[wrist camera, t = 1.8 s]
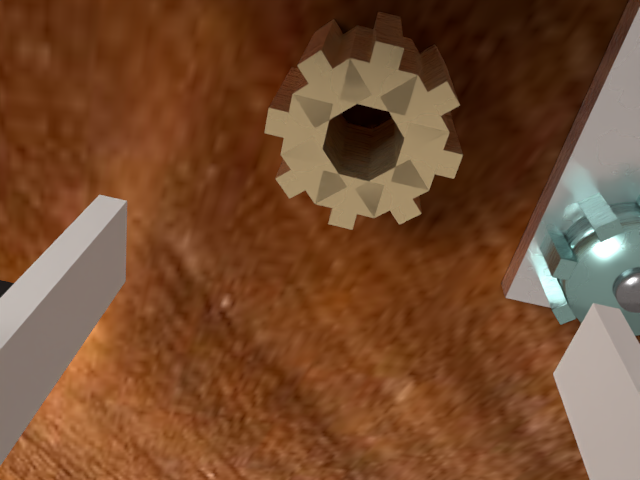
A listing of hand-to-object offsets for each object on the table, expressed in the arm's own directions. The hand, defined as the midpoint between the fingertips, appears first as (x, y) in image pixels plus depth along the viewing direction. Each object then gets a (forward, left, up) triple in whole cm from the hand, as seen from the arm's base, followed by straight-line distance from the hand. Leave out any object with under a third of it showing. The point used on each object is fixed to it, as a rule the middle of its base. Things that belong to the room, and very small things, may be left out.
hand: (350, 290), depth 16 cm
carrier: (+12, +11, -18) cm, 24 cm away
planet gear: (0, 0, -18) cm, 18 cm away
